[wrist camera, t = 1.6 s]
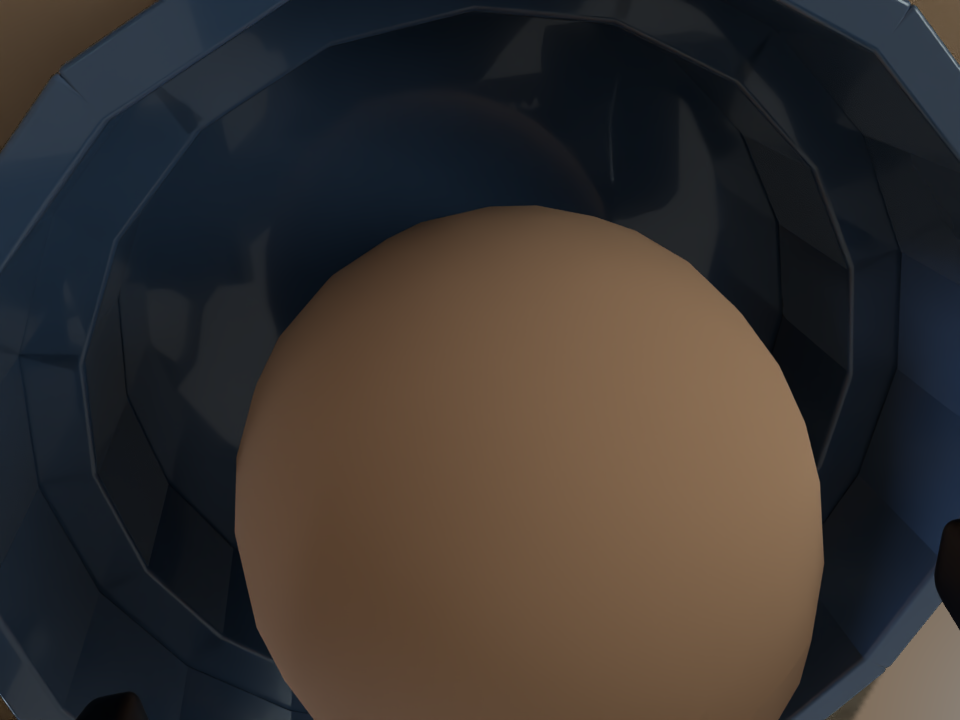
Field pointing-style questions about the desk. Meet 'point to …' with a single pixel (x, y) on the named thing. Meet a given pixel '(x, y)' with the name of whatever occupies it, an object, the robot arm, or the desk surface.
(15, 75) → the desk surface
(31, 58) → the desk surface
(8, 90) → the desk surface
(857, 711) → the desk surface
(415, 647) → the egg
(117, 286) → the bowl
